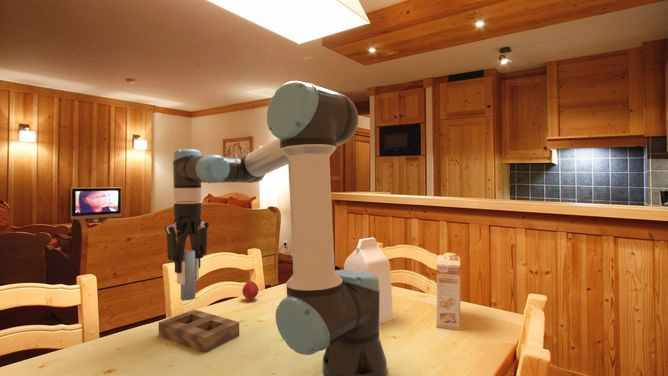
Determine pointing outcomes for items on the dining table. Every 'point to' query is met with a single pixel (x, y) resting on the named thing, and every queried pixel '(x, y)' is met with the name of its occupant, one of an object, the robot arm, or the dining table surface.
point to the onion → (250, 290)
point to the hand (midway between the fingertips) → (188, 281)
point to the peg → (189, 276)
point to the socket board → (199, 330)
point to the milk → (374, 272)
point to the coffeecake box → (448, 292)
